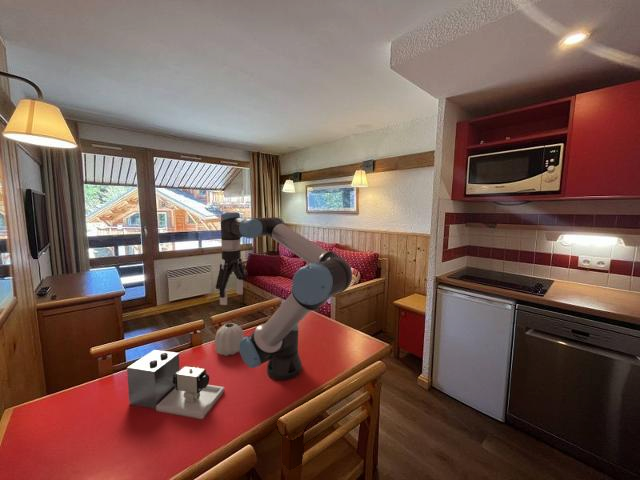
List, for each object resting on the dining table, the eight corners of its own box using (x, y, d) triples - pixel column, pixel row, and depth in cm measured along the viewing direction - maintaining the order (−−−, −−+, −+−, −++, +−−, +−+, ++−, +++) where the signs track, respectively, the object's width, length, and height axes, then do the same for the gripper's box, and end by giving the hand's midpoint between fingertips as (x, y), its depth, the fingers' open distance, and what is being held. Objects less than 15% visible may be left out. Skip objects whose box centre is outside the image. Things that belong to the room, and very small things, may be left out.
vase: (248, 353, 129) (248, 327, 127) (218, 362, 121) (217, 334, 119) (239, 341, 140) (239, 317, 139) (211, 348, 132) (211, 323, 131)
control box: (180, 386, 104) (178, 350, 102) (156, 409, 92) (154, 368, 91) (155, 382, 106) (152, 347, 104) (128, 404, 94) (125, 364, 93)
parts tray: (224, 391, 102) (224, 386, 102) (202, 419, 88) (202, 413, 88) (183, 385, 105) (183, 380, 105) (156, 411, 92) (156, 405, 91)
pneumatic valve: (202, 406, 93) (201, 374, 92) (173, 401, 95) (171, 370, 94) (211, 395, 99) (210, 365, 97) (183, 391, 101) (182, 361, 99)
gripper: (237, 245, 123) (238, 289, 125) (204, 254, 99) (206, 308, 101) (252, 245, 122) (252, 290, 124) (223, 255, 97) (224, 310, 100)
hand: (232, 299), depth 113 cm, fingers open, 13 cm apart
